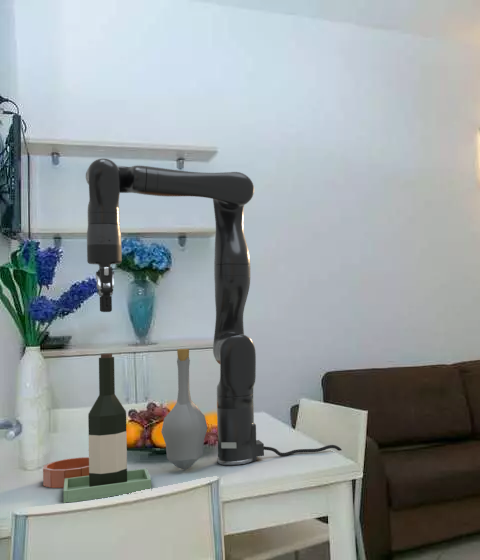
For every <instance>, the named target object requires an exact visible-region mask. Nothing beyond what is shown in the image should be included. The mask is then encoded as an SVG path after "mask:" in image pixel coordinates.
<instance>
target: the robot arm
mask: <svg viewBox="0 0 480 560" xmlns="http://www.w3.org/2000/svg"><path fill="white" fill-rule="evenodd" d="M85 180H86V183H87V185H88V197H89V200H88V205H87V230H86V262H87V264H89V265H97V266H98V267H99V268H98V269H97V271H95V280H96V288H97V293H98V294H97V295H98V297H99V312H101V313H111V312H112V311H113V302H112V301H113V299H112V298H113V297H112V296H113V294H114V288H115V270H114V268H113V267H112V265H119V264H122V262H123V253H122V250H123V249H122V233H121V219H120V218H121V216H120V215H121V214H120V213H121V212H120V194H136V195H137V194H138V195H144V196H155V197H195V198H196V197H198V198H206V199H211V200H212V203H213V213H214V221H215V235H214V258H213V259H214V260H213V261H214V263H213V269H214V270H213V272H214V273H213V274H214V275H213V277H214V279H213V280H214V302H215V322H214V323H215V325H214V334H213V341H212V342H213V344H212V353H213V358H214V360H215V361H216V362H217V364H219V367H220V368H219V370H220V371H219V381H218V383H217V386H216V421H217V423H216V424H217V426H216V427H217V463H218V464H219V465H224V466H237V465H245V464H249V463H253V462H257V460H258V457H265V451H270V452H273V453H275V454H276V455H277V456H279V457H287V456H290V455H291V456H292V455H293V454H302V453H318V452H319V453H320V452H324V451H326V450H330V449H335V450H336V451H343V449H342V447H339V446H338V445H336V444H328V445H325V446H322V447H318V448H300V449H293V450H289V451H287V452H286V451H285V452H281V451H279V450H278V449H277V448H275V447H272V446H265V445H264V442H263V441H261V440H260V439H257V424H256V423H255V412H254V409H255V407H254V386H255V384H256V376H257V375H256V373H257V371H256V370H257V367H256V365H257V356H256V355H257V353H256V347H255V344H254V342H253V340H252V339H251V338H250V337H249V336H248V335H246V334H245V330H244V329H245V328H244V313H245V312H244V311H245V308H246V307H245V306H246V303H247V300H248V297H249V296H248V295H249V291H250V286H251V255H250V251H249V246H248V243H247V239H246V236H245V231H244V210H245V205H247V204H248V203H249V202H250V201H251V200H252V199H253V198H254V194H255V185H254V183H253V181H252V179H251V178H250V177H249V176H248V175H246V174H245V173H243V172H240V171H239V172H238V171H225V172H199V171H188V170H179V169H172V168H164V167H155V166H149V165H140V164H139V165H138V164H137V165H132V166H124V165H117V164H116V162H114V161H113V160H111V159H109V158H98V159H95V160H93V161H92V162H91V163H90V164H89V166H88V168H87V170H86V172H85ZM113 270H114V271H113Z"/></svg>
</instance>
